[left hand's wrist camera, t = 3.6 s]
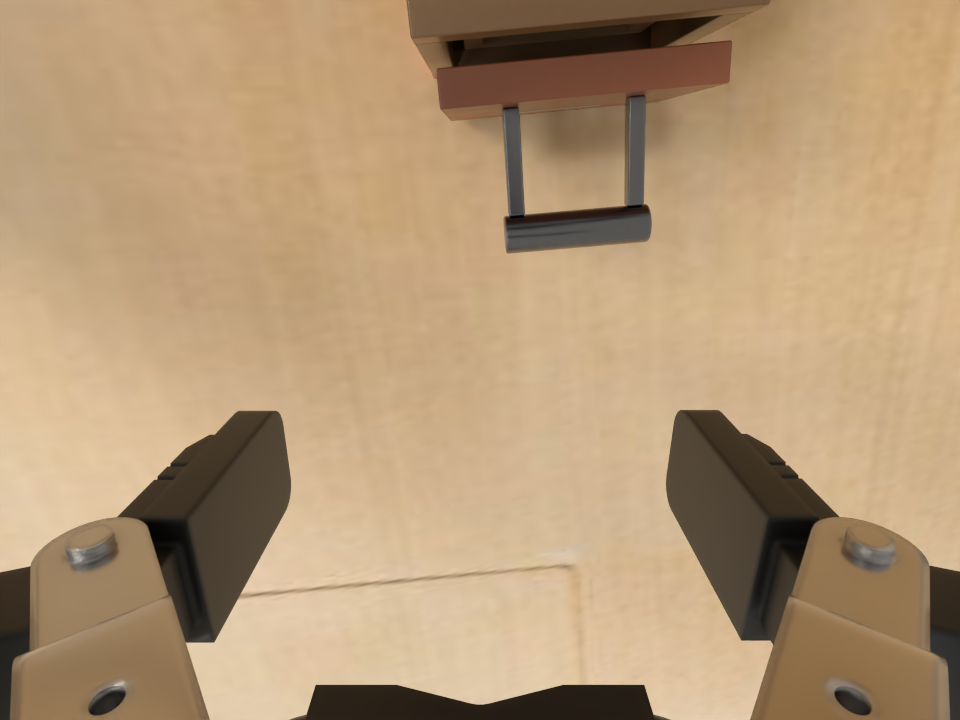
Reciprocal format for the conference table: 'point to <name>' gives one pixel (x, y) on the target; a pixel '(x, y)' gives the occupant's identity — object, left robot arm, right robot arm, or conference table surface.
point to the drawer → (578, 87)
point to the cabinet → (560, 26)
